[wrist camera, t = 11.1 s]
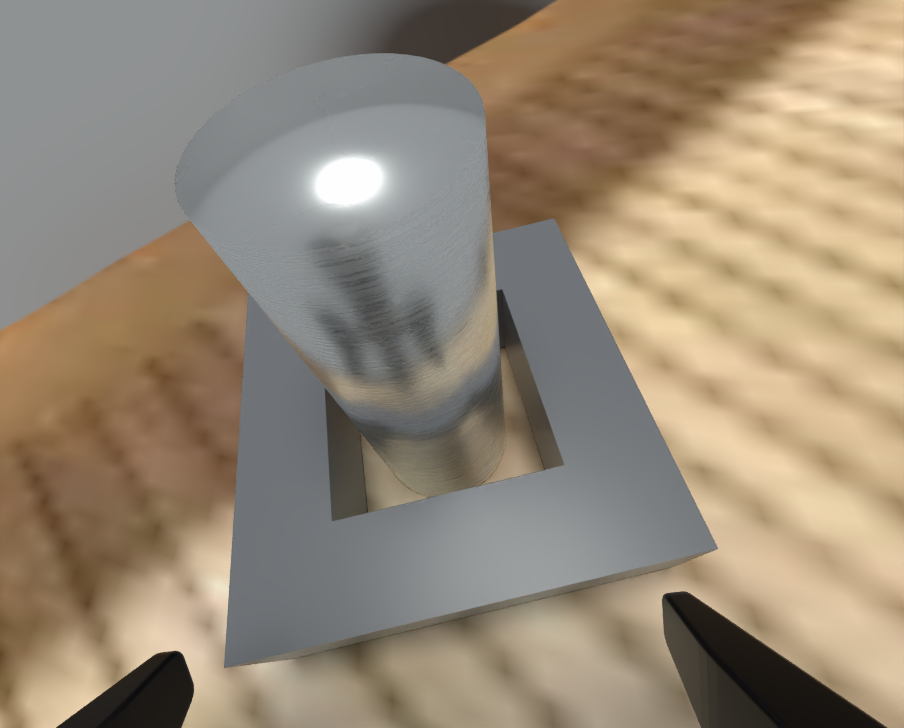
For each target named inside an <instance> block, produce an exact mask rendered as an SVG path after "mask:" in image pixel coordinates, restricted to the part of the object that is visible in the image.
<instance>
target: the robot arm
mask: <svg viewBox="0 0 904 728" xmlns="http://www.w3.org/2000/svg"><path fill="white" fill-rule="evenodd" d="M662 608H663V624H664V635H665V639H666V643H667V646H668V648H669V651H670V653H671V656H672V658H673V660H674V663H675V665H676V668H677V670H678V673H679V675H680V677H681V680H682V682H683V685H684V687H685V689H686V692H687V694H688V697H689V699H690V701H691V704H692V706H693V709H694V711H695V714H696V716H697V718H698V721H699V723H700V726H701V728H887V727H886V726H884V725H883V724H881V723H880V722H878V721H877V720H876V719H874V718H873V717H871V716H870V715H868V714H867V713H865V712H864V711H862V710H861V709H859V708H858V707H856V706H855V705H853V704H852V703H850V702H849V701H848V700H846V699H845V698H843V697H842V696H840V695H839V694H837V693H836V692H834V691H833V690H831V689H830V688H828V687H827V686H825V685H824V684H823V683H821V682H820V681H818V680H817V679H815V678H814V677H812V676H811V675H809V674H808V673H806V672H805V671H803V670H802V669H800V668H799V667H798V666H796V665H795V664H793V663H792V662H790V661H789V660H787V659H786V658H784V657H783V656H781V655H780V654H778V653H777V652H775V651H774V650H773V649H771V648H770V647H768V646H767V645H765V644H764V643H762V642H761V641H759V640H758V639H756V638H755V637H753V636H752V635H750V634H749V633H747V632H746V631H745V630H743V629H742V628H740V627H739V626H737V625H736V624H734V623H733V622H731V621H730V620H728V619H727V618H725V617H724V616H722V615H721V614H720V613H718V612H717V611H715V610H714V609H712V608H711V607H709V606H708V605H706V604H705V603H703V602H702V601H700V600H699V599H697V598H696V597H695V596H693V595H692V594H690V593H688V592H684V591H682V592H674V593H666V594H664V595H663V598H662ZM193 694H194V684H193V681H192V678H191V675H190V672H189V669H188V667H187V664H186V661H185V658H184V656H183V654H182V653H181V652H179V651H171V652H162V653H158V654H156V655H154V656H152V657H151V658H150V659H148V660H147V661H146V662H144V663H143V664H142V665H140V666H139V667H137V668H136V669H135V670H133V671H132V672H131V673H129V674H128V675H127V676H125V677H124V678H123V679H121V680H120V681H119V682H117V683H116V684H114V685H113V686H112V687H110V688H109V689H108V690H106V691H105V692H104V693H102V694H101V695H100V696H98V697H97V698H96V699H94V700H93V701H91V702H90V703H89V704H87V705H86V706H85V707H83V708H82V709H81V710H79V711H78V712H77V713H75V714H74V715H73V716H71V717H70V718H68V719H67V720H66V721H64V722H63V723H62V724H60V725H59V726H58V727H56V728H181V727H182V725H183V722H184V719H185V717H186V714H187V712H188V709H189V707H190V704H191V702H192V698H193Z"/></svg>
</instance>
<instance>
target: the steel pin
mask: <svg viewBox="0 0 904 728" xmlns="http://www.w3.org/2000/svg"><path fill="white" fill-rule="evenodd" d="M175 192H176V195H177V199H178V202H179V204H180V206H181V208H182V209H183V211H184V213H185V214H186V215H187V217H188V218H189V219H190V220H191V222H192V223H193V224H194V225H195V227H196V228H197V229H198V230H199V232H200V233H201V234H202V235H203V237H204V238H205V239H206V240H207V242H208V243H209V244H210V245H211V247H212V248H213V249H214V250H215V252H216V253H217V254H218V255H219V257H220V258H221V259H222V260H223V262H224V263H225V264H226V265H227V267H228V268H229V269H230V270H231V272H232V273H233V274H234V275H235V276H236V278H237V279H238V280H239V281H240V283H241V284H242V285H243V286H244V288H245V289H246V290H247V291H248V293H249V294H250V295H251V296H252V298H253V299H254V300H255V301H256V303H257V304H258V305H259V306H260V308H261V309H262V310H263V311H264V313H265V314H266V315H267V316H268V318H269V319H270V320H271V321H272V323H273V324H274V325H275V326H276V328H277V329H278V330H279V331H280V332H281V334H282V335H283V336H284V337H285V339H286V340H287V341H288V342H289V344H290V345H291V346H292V347H293V349H294V350H295V351H296V352H297V354H298V355H299V356H300V357H301V359H302V360H303V361H304V362H305V364H306V365H307V366H308V367H309V369H310V370H311V371H312V372H313V374H314V375H315V376H316V377H317V379H318V380H319V381H320V382H321V384H322V385H323V386H324V387H325V388H326V390H327V391H328V392H329V393H330V395H331V396H332V397H333V398H334V400H335V401H336V402H337V403H338V405H339V406H340V407H341V408H342V410H343V411H344V412H345V413H346V415H347V416H348V417H349V418H350V420H351V421H352V422H353V423H354V425H355V426H356V427H357V428H358V430H359V431H360V432H361V433H362V435H363V436H364V437H365V438H366V440H367V441H368V442H369V443H370V444H371V446H372V447H373V448H374V449H375V451H376V452H377V453H378V454H379V456H380V457H381V458H382V459H383V461H384V462H385V463H386V464H387V466H388V467H389V468H390V469H391V471H392V472H393V473H394V474H395V476H396V477H397V478H398V479H399V480H400V481H401V482H402V483H403V484H404V485H405V486H407V487H408V488H410V489H411V490H413V491H415V492H417V493H419V494H422V495H425V496H429V497H435V496H439V495H444V494H448V493H452V492H456V491H460V490H464V489H468V488H472V487H477V486H480V485H481V484H482V483H483V482H485V481H486V480H487V479H488V478H489V477H490V476H491V474H492V473H493V472H494V471H495V469H496V467H497V466H498V464H499V462H500V460H501V457H502V455H503V451H504V447H505V421H504V405H503V389H502V374H501V358H500V343H499V327H498V311H497V296H496V280H495V265H494V249H493V234H492V218H491V202H490V187H489V171H488V156H487V140H486V124H485V110H484V106H483V102H482V99H481V97H480V95H479V93H478V91H477V89H476V88H475V87H474V85H473V84H472V83H471V82H470V81H469V80H468V79H467V78H466V77H465V76H463V75H462V74H461V73H460V72H458V71H456V70H454V69H453V68H451V67H449V66H447V65H444V64H442V63H439V62H437V61H434V60H430V59H427V58H423V57H417V56H412V55H402V54H379V53H377V54H361V55H354V56H346V57H340V58H335V59H329V60H325V61H321V62H317V63H313V64H310V65H307V66H303V67H300V68H297V69H294V70H292V71H289V72H286V73H284V74H281V75H279V76H276V77H274V78H272V79H270V80H268V81H266V82H263V83H261V84H259V85H258V86H256V87H254V88H252V89H250V90H248V91H247V92H245V93H243V94H242V95H240V96H239V97H237V98H235V99H234V100H232V101H231V102H230V103H228V104H227V105H226V106H224V107H223V108H222V109H220V110H219V111H218V112H217V113H216V114H214V116H212V117H211V118H210V119H209V120H208V121H207V122H206V123H205V124H204V125H203V126H202V127H201V128H200V129H199V130H198V131H197V133H196V134H195V135H194V137H193V138H192V139H191V141H190V142H189V143H188V145H187V147H186V148H185V150H184V152H183V154H182V156H181V158H180V161H179V164H178V166H177V171H176V176H175Z"/></svg>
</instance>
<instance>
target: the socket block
mask: <svg viewBox="0 0 904 728" xmlns="http://www.w3.org/2000/svg"><path fill="white" fill-rule="evenodd" d="M492 234H493V249H494V265H495V280H496V296H497V311H498V327H499V343H500V348H503V347H505V349H506V352H507V355H508V358H509V361H510V364H511V367H512V370H513V374H514V377H515V380H516V383H517V386H518V389H519V392H520V395H521V398H522V401H523V404H524V407H525V410H526V413H527V416H528V419H529V423H530V426H531V429H532V432H533V435H534V438H535V441H536V444H537V447H538V450H539V453H540V456H541V459H542V462H543V465H544V468H545V470H543V471H539V472H534V473H530V474H526V475H522V476H518V477H514V478H510V479H506V480H501V481H497V482H493V483H489V484H485V485H481V486H477V487H472V488H468V489H464V490H460V491H456V492H452V493H448V494H444V495H439V496H435V497H431V498H427V499H423V500H419V501H415V502H411V503H406V504H402V505H398V506H394V507H390V508H386V509H382V510H377V511H373V512H369V513H368V512H367V501H366V491H365V481H364V470H363V460H362V449H361V439H360V431H359V430H358V428H357V427H356V426H355V425H354V423H353V422H352V421H351V420H350V418H349V417H348V416H347V415H346V413H345V412H344V411H343V410H342V408H341V407H340V406H339V405H338V403H337V402H336V401H335V400H334V398H333V397H332V396H331V395H330V393H329V392H328V391H327V390H326V388H325V387H324V386H323V385H322V384H321V382H320V381H319V380H318V379H317V377H316V376H315V375H314V374H313V372H312V371H311V370H310V369H309V367H308V366H307V365H306V364H305V362H304V361H303V360H302V359H301V357H300V356H299V355H298V354H297V352H296V351H295V350H294V349H293V347H292V346H291V345H290V344H289V342H288V341H287V340H286V339H285V337H284V336H283V335H282V334H281V332H280V331H279V330H278V329H277V328H276V326H275V325H274V324H273V323H272V321H271V320H270V319H269V318H268V316H267V315H266V314H265V313H264V311H263V310H262V309H261V308H260V306H259V305H258V304H257V303H256V301H255V300H254V299H253V298H252V296H251V295H250V294H249V293H248V304H247V320H246V335H245V351H244V367H243V382H242V398H241V413H240V429H239V445H238V460H237V476H236V491H235V507H234V523H233V538H232V554H231V569H230V585H229V601H228V616H227V632H226V647H225V663H224V668H229V667H236V666H243V665H251V664H258V663H266V662H273V661H281V660H288V659H294V658H298V657H302V656H306V655H311V654H315V653H319V652H323V651H327V650H331V649H335V648H340V647H344V646H348V645H352V644H356V643H360V642H364V641H369V640H373V639H377V638H381V637H385V636H389V635H393V634H398V633H402V632H406V631H410V630H414V629H418V628H422V627H427V626H431V625H435V624H439V623H443V622H447V621H451V620H456V619H460V618H464V617H468V616H472V615H476V614H480V613H485V612H489V611H493V610H497V609H501V608H505V607H509V606H514V605H518V604H522V603H526V602H530V601H534V600H538V599H543V598H547V597H551V596H555V595H559V594H563V593H567V592H572V591H576V590H580V589H584V588H588V587H592V586H596V585H601V584H605V583H609V582H613V581H617V580H621V579H625V578H630V577H634V576H638V575H642V574H646V573H650V572H654V571H659V570H663V569H667V568H671V567H674V566H676V565H679V564H681V563H684V562H686V561H689V560H691V559H694V558H696V557H699V556H701V555H704V554H706V553H709V552H712V551H714V550H717V549H718V547H717V545H716V543H715V541H714V539H713V537H712V535H711V533H710V531H709V529H708V527H707V525H706V523H705V521H704V519H703V517H702V515H701V513H700V511H699V509H698V507H697V505H696V503H695V501H694V499H693V497H692V495H691V493H690V491H689V489H688V487H687V485H686V483H685V481H684V479H683V477H682V475H681V473H680V471H679V469H678V467H677V465H676V463H675V461H674V459H673V457H672V455H671V453H670V451H669V449H668V447H667V445H666V443H665V441H664V439H663V437H662V435H661V433H660V431H659V429H658V427H657V425H656V423H655V421H654V419H653V417H652V415H651V413H650V411H649V409H648V407H647V404H646V402H645V400H644V398H643V396H642V394H641V392H640V390H639V388H638V386H637V384H636V382H635V380H634V378H633V376H632V374H631V372H630V370H629V368H628V366H627V364H626V362H625V360H624V358H623V356H622V354H621V352H620V350H619V348H618V346H617V344H616V342H615V340H614V338H613V336H612V334H611V332H610V330H609V328H608V326H607V324H606V322H605V320H604V318H603V316H602V314H601V312H600V310H599V308H598V306H597V304H596V302H595V300H594V298H593V296H592V294H591V292H590V290H589V288H588V286H587V284H586V282H585V280H584V278H583V276H582V274H581V272H580V270H579V268H578V266H577V264H576V262H575V260H574V258H573V256H572V254H571V252H570V250H569V247H568V245H567V243H566V241H565V239H564V237H563V235H562V233H561V231H560V229H559V227H558V225H557V223H556V221H555V219H550V220H546V221H542V222H537V223H533V224H529V225H525V226H521V227H517V228H513V229H509V230H505V231H500V232H496V233H492Z"/></svg>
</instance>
